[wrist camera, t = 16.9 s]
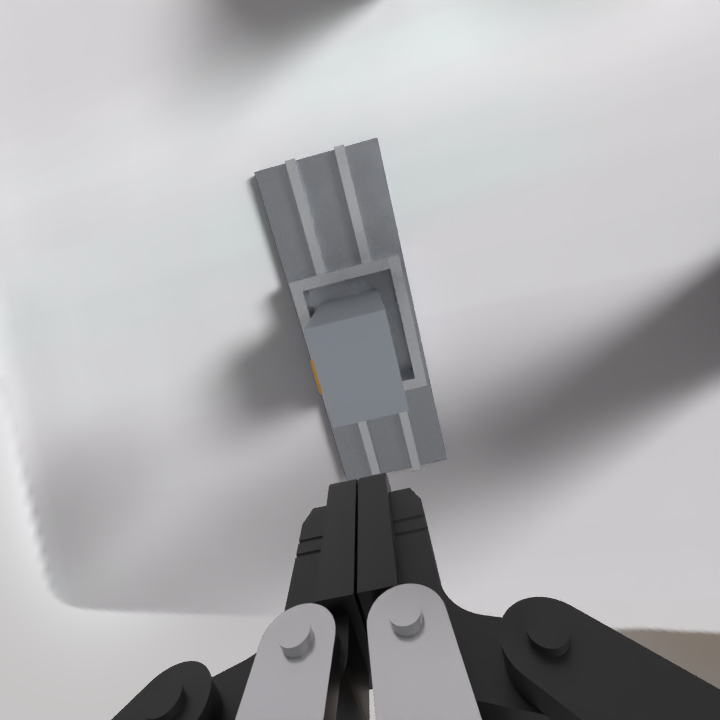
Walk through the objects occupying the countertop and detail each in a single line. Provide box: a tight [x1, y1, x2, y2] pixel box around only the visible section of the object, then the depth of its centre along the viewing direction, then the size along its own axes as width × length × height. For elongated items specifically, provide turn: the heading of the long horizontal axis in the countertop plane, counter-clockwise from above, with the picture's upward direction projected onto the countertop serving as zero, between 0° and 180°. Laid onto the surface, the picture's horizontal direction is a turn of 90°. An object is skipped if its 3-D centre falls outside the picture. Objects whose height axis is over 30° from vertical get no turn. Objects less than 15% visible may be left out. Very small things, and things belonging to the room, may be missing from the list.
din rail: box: [254, 138, 447, 481], centre depth 31 cm, size 26×9×3 cm, turn 14°
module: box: [304, 289, 409, 428], centre depth 27 cm, size 6×5×10 cm
